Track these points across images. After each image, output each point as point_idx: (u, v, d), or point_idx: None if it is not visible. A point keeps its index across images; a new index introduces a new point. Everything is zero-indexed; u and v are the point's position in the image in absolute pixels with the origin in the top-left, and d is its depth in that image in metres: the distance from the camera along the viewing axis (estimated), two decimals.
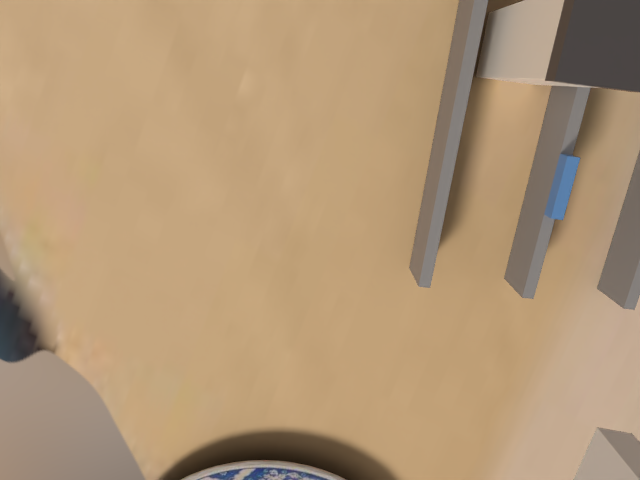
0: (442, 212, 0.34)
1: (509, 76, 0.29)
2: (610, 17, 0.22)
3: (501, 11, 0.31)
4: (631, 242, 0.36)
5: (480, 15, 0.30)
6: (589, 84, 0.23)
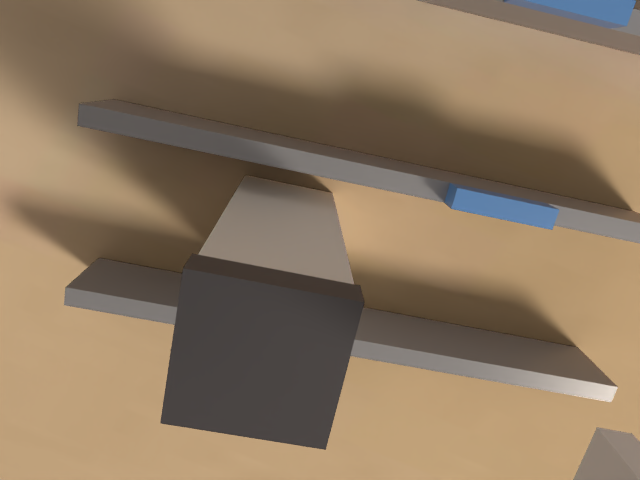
0: (503, 369, 0.22)
1: None
2: (226, 372, 0.12)
3: None
4: (627, 41, 0.20)
5: None
6: (338, 394, 0.13)
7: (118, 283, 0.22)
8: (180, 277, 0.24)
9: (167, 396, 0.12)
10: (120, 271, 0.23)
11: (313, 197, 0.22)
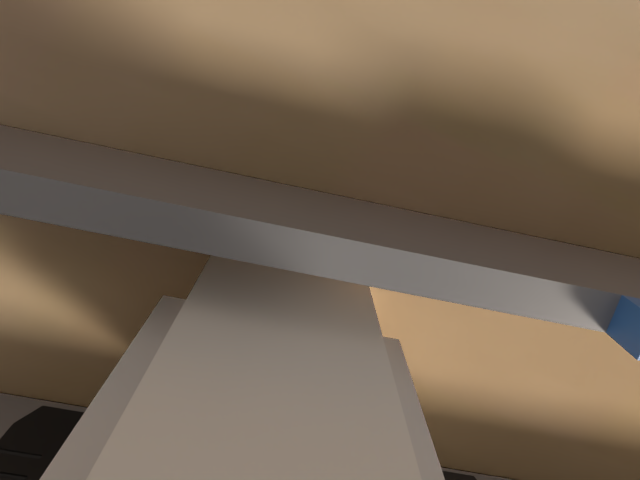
0: None
1: None
2: None
3: None
4: None
5: None
6: None
7: None
8: None
9: None
10: None
11: (336, 303, 0.11)
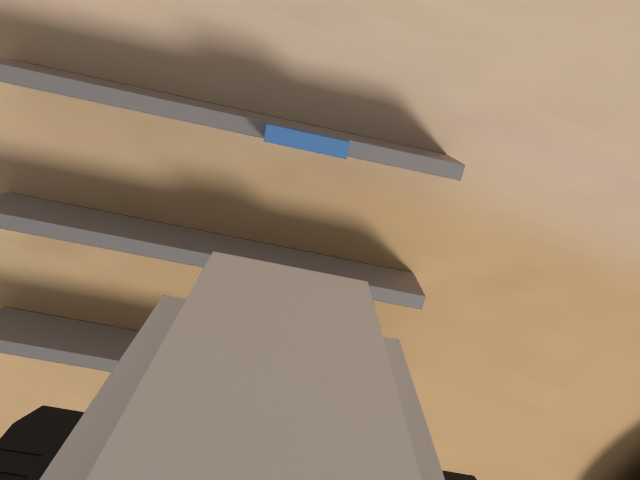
0: None
1: None
2: None
3: None
4: None
5: (91, 359, 0.29)
6: None
7: (11, 329, 0.29)
8: (65, 322, 0.31)
9: None
10: (17, 318, 0.30)
11: (336, 303, 0.11)
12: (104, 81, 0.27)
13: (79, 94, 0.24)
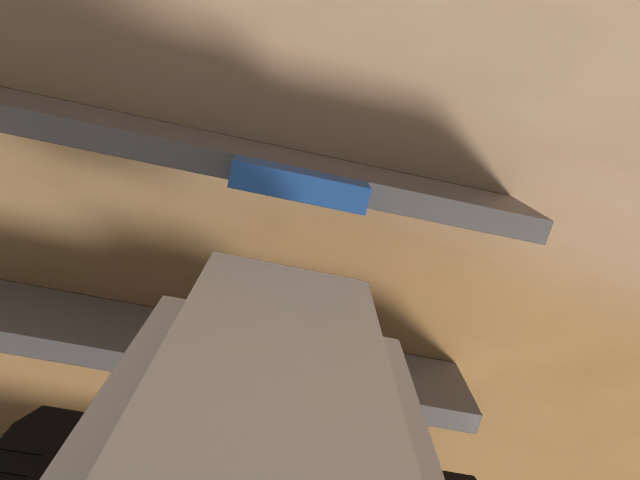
0: None
1: None
2: None
3: None
4: None
5: None
6: None
7: None
8: None
9: None
10: None
11: (336, 303, 0.11)
12: None
13: None
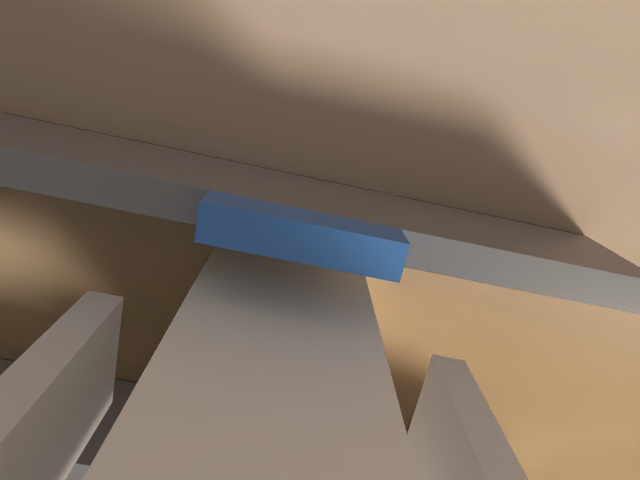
0: None
1: None
2: None
3: None
4: None
5: None
6: None
7: None
8: None
9: None
10: None
11: (332, 278, 0.13)
12: None
13: None
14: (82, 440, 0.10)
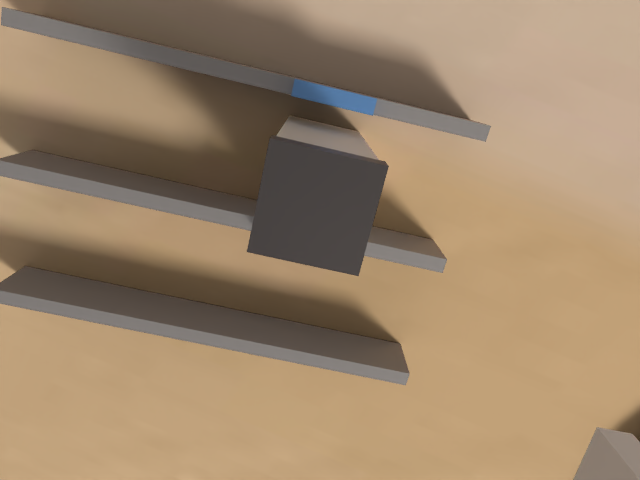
0: (320, 357, 0.30)
1: None
2: (293, 215, 0.18)
3: None
4: None
5: (112, 317, 0.29)
6: (368, 234, 0.19)
7: (34, 286, 0.30)
8: (85, 282, 0.31)
9: (253, 231, 0.18)
10: (39, 277, 0.31)
11: (344, 130, 0.28)
12: None
13: (108, 46, 0.24)
14: None
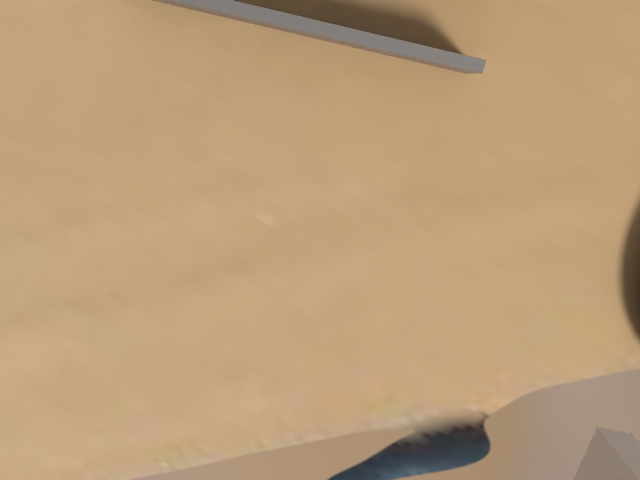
0: (402, 43, 0.32)
1: None
2: None
3: None
4: None
5: None
6: None
7: None
8: None
9: None
10: None
11: None
12: None
13: None
14: None
